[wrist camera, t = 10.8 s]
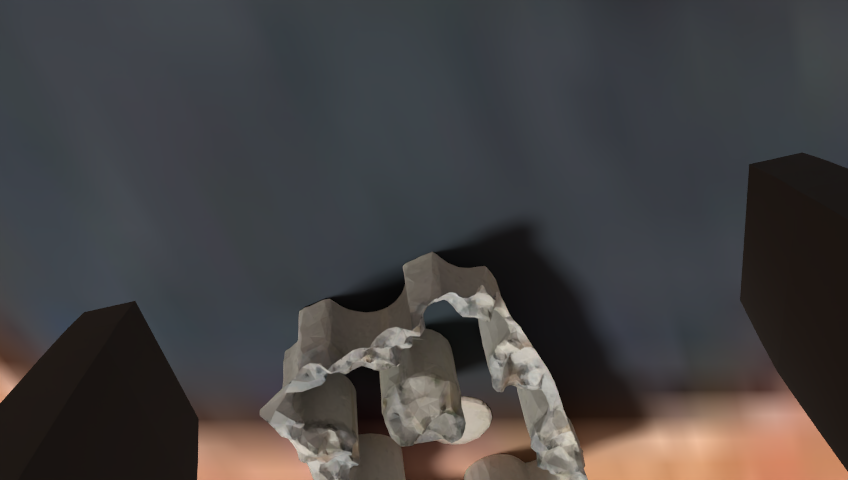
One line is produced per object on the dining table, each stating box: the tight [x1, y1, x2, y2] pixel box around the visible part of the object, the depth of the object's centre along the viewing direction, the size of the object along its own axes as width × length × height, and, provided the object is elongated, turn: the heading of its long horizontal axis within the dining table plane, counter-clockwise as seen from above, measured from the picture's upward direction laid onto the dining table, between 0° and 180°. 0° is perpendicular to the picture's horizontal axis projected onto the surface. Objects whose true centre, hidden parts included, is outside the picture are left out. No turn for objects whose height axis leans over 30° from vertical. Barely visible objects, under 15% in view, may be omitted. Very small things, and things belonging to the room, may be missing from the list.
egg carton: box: [260, 252, 588, 480], centre depth 23 cm, size 11×8×4 cm
